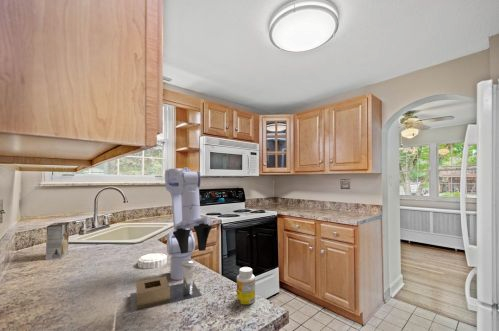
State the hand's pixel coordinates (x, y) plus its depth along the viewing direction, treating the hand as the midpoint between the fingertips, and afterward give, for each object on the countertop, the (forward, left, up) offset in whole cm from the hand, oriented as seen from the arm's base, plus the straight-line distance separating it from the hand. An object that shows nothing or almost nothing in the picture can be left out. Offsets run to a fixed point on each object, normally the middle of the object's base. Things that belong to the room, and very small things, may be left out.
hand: (193, 252), depth 71 cm
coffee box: (-76, -49, -16) cm, 92 cm away
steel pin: (-6, 0, -15) cm, 16 cm away
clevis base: (-8, -6, -16) cm, 19 cm away
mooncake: (-43, -7, -16) cm, 47 cm away
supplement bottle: (+7, +14, -16) cm, 22 cm away
